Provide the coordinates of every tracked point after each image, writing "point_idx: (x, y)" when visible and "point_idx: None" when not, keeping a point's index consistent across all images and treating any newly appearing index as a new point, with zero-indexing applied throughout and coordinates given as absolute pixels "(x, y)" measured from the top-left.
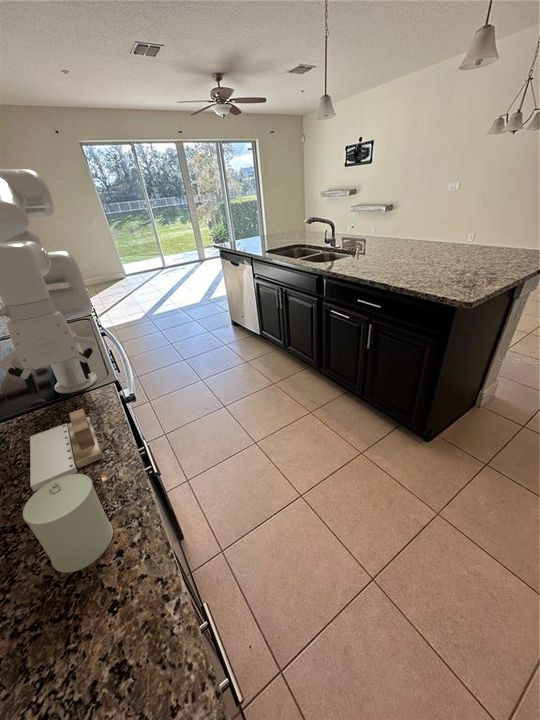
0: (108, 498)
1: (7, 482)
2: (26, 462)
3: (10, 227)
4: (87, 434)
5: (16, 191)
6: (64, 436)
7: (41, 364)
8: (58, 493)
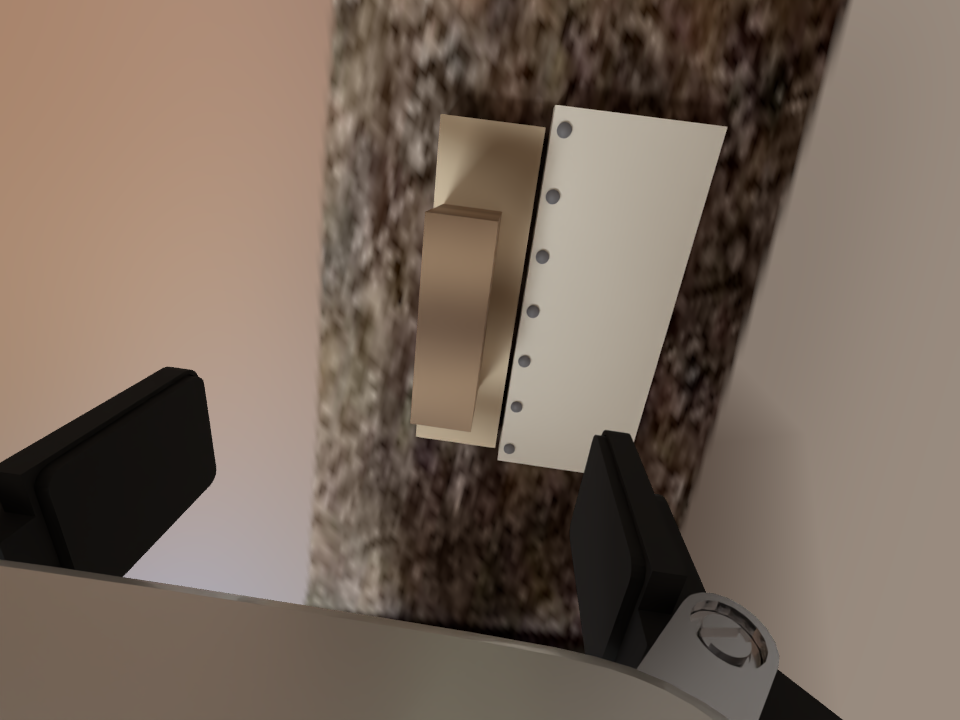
0: None
1: (758, 278)
2: (673, 349)
3: None
4: (447, 210)
5: None
6: (527, 376)
7: (440, 681)
8: None
